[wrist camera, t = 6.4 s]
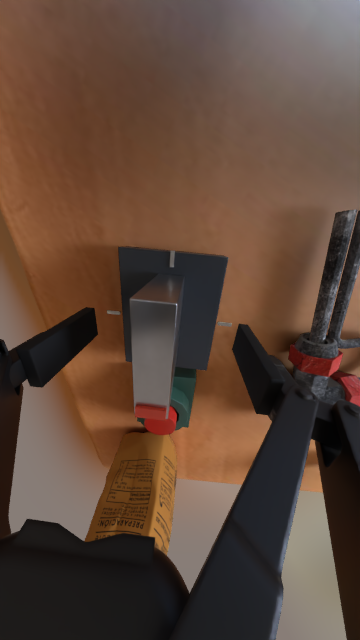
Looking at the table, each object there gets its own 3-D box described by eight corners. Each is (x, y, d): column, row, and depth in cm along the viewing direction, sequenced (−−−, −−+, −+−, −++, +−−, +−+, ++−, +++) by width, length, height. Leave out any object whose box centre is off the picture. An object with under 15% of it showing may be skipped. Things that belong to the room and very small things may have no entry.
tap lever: (158, 273, 16) (127, 299, 8) (184, 276, 16) (177, 305, 8) (155, 351, 19) (133, 418, 12) (177, 354, 19) (167, 423, 12)
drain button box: (139, 362, 24) (130, 383, 20) (196, 368, 23) (196, 391, 20) (140, 409, 28) (133, 434, 24) (188, 415, 27) (187, 441, 24)
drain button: (147, 400, 21) (143, 412, 20) (178, 404, 21) (176, 416, 20) (147, 420, 23) (144, 433, 22) (175, 424, 23) (174, 437, 21)
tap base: (112, 244, 17) (99, 243, 15) (239, 255, 17) (247, 257, 14) (120, 349, 23) (112, 361, 20) (216, 359, 22) (219, 373, 20)
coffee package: (134, 463, 35) (56, 757, 15) (118, 425, 30) (-30, 793, 10) (181, 464, 34) (165, 782, 14) (173, 425, 29) (130, 836, 9)
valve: (343, 401, 26) (251, 414, 26) (414, 210, 17) (270, 222, 16) (395, 444, 20) (276, 461, 20) (550, 184, 11) (329, 203, 10)
